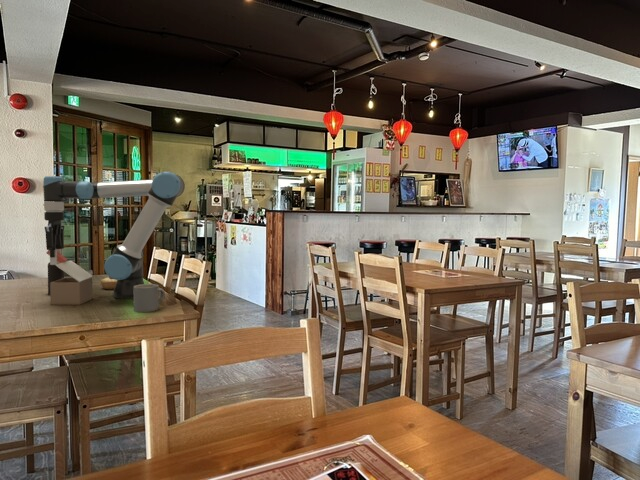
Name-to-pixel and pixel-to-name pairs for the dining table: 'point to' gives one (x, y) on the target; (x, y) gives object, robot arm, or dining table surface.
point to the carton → (70, 291)
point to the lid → (71, 268)
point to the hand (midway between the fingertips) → (56, 263)
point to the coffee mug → (147, 297)
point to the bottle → (54, 275)
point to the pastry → (108, 283)
